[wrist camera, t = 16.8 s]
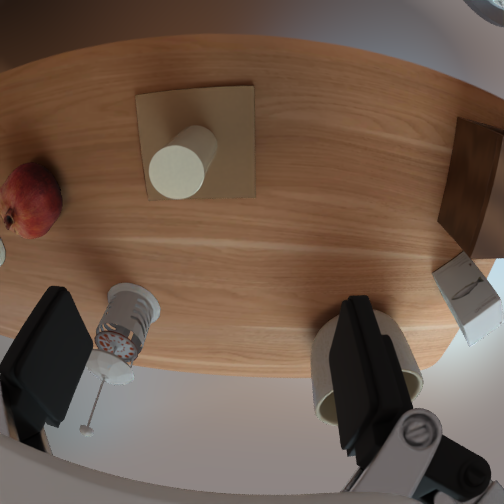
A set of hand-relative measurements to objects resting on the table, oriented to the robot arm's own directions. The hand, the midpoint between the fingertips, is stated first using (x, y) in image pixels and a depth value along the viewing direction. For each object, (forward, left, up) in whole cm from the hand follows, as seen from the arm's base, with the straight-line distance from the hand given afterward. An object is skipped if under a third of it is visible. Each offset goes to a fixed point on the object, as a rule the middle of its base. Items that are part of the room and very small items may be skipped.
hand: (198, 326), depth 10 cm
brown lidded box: (+3, +35, -30) cm, 46 cm away
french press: (+28, -19, -30) cm, 46 cm away
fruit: (+5, -29, -30) cm, 42 cm away
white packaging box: (+21, +36, -30) cm, 51 cm away
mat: (+1, -5, -30) cm, 30 cm away
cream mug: (+1, -5, -29) cm, 30 cm away
